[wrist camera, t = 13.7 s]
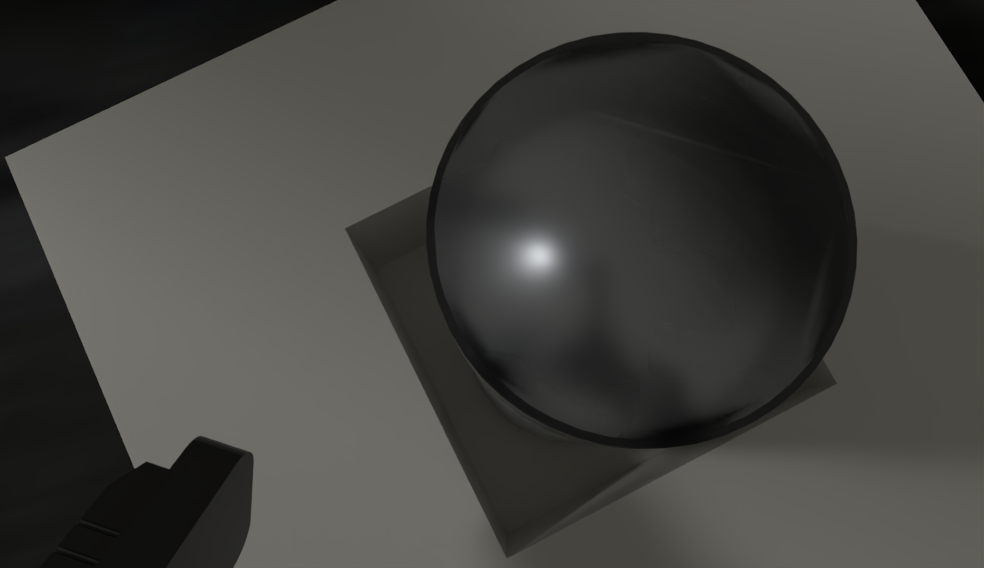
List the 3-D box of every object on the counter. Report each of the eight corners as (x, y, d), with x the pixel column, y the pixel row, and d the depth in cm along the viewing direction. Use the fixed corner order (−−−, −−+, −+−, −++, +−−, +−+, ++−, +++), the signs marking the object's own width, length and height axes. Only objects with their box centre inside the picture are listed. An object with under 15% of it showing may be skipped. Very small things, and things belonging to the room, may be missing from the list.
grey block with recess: (136, 230, 23) (5, 156, 17) (711, -48, 24) (777, -208, 18) (389, 804, 20) (338, 960, 14) (1023, 457, 21) (1224, 466, 15)
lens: (427, 290, 20) (355, 142, 10) (615, 196, 20) (719, -33, 11) (526, 487, 19) (551, 530, 9) (721, 384, 20) (941, 323, 10)
